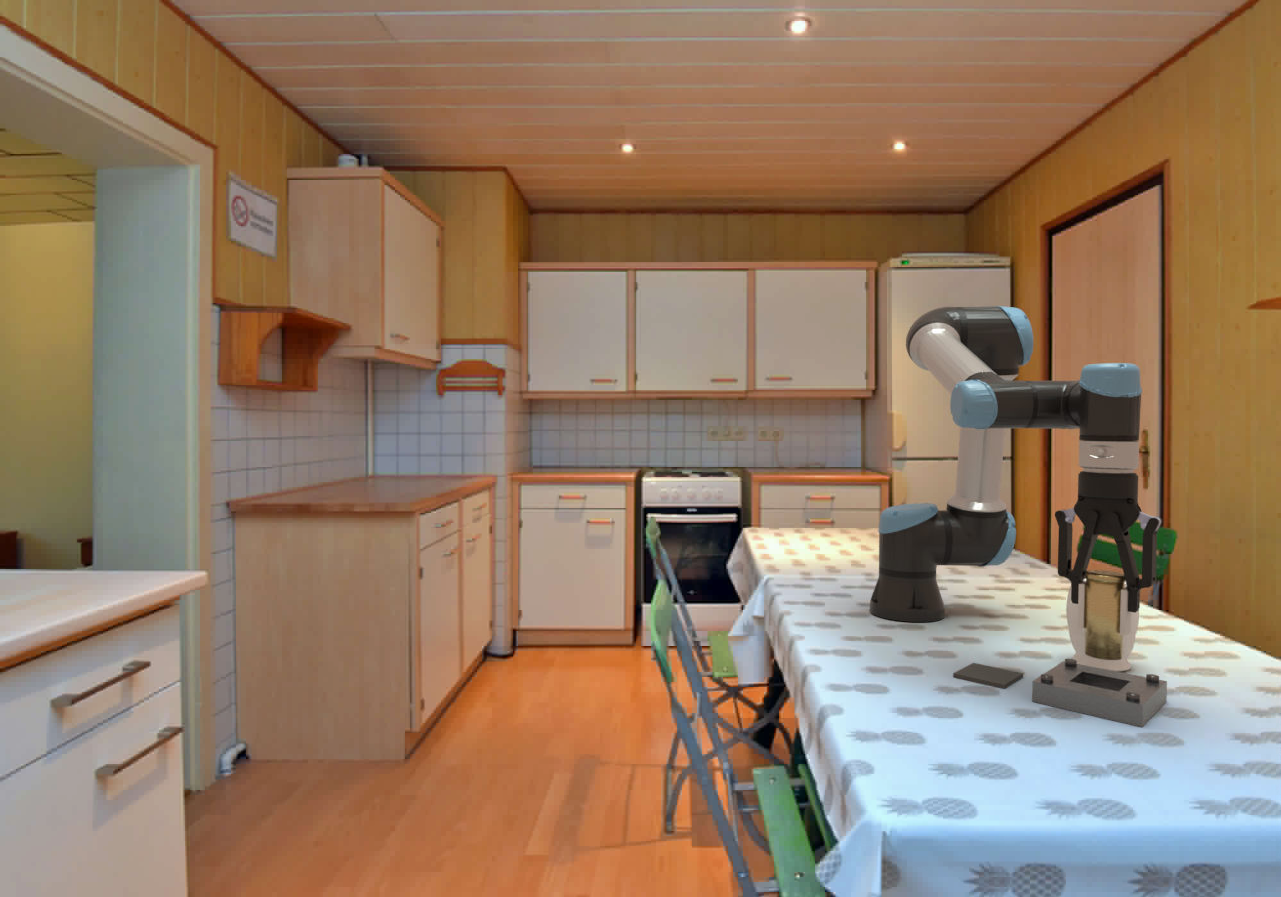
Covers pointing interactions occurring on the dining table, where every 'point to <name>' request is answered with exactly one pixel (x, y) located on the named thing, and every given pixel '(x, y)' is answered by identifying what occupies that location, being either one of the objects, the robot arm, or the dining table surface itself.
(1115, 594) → the brass-coloured knob
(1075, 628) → the jar
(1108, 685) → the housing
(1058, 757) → the dining table surface
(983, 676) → the mat
